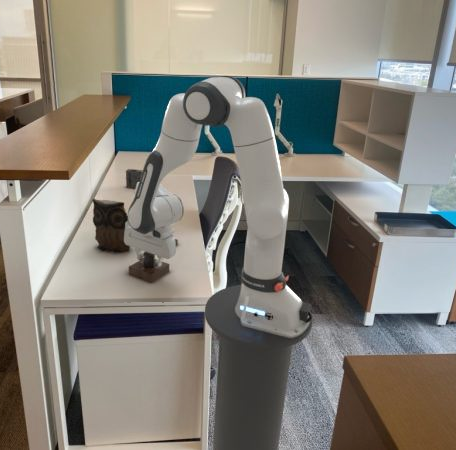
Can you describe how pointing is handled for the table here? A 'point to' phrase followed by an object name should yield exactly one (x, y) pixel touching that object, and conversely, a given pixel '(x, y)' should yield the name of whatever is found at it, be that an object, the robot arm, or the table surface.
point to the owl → (110, 225)
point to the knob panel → (148, 271)
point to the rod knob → (148, 260)
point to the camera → (132, 177)
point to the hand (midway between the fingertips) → (149, 262)
